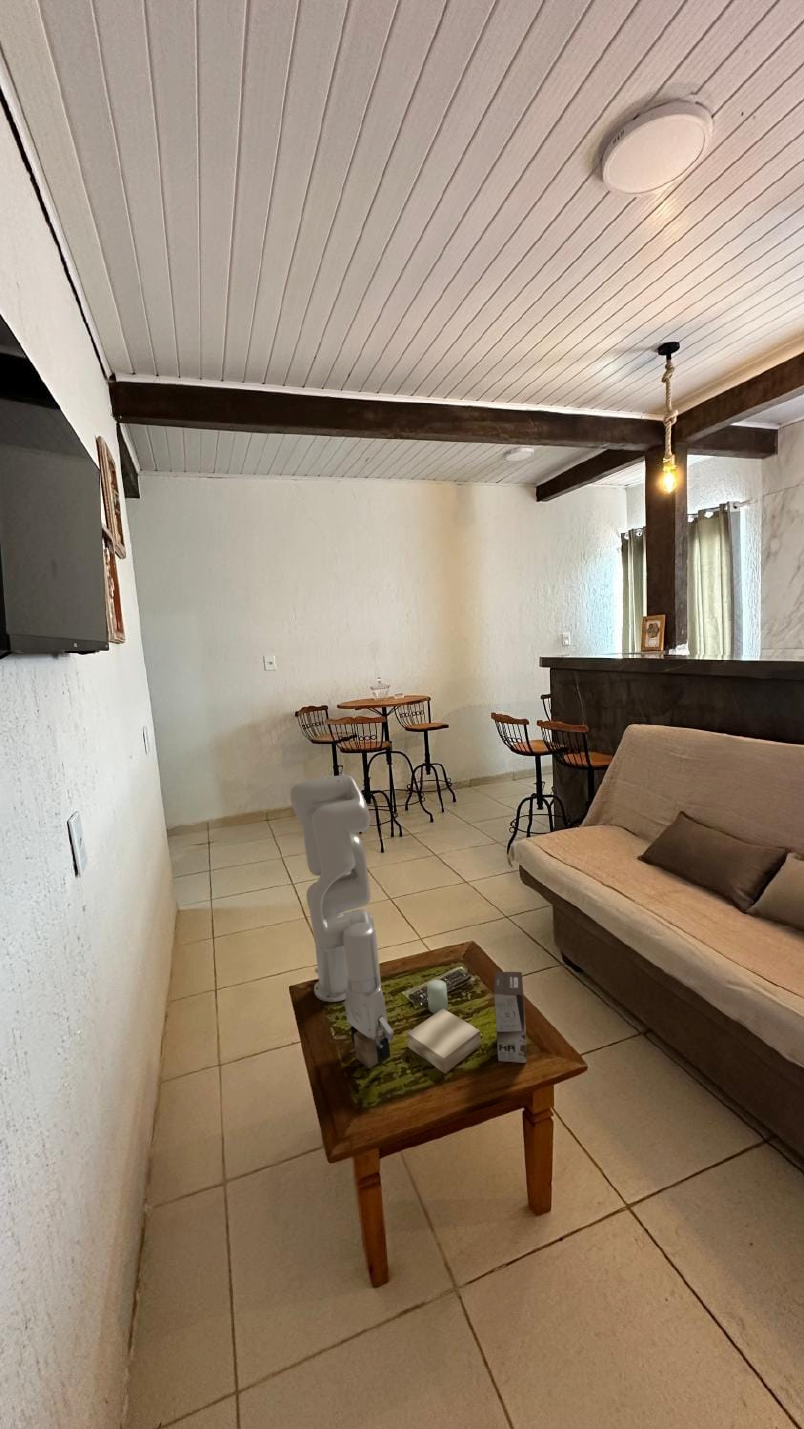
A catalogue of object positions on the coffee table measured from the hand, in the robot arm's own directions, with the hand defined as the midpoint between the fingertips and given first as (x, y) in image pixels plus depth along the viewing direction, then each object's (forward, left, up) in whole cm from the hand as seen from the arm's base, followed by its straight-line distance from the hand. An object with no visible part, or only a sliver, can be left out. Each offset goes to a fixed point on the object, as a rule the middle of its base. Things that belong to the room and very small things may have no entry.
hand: (370, 1049), depth 128 cm
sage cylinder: (-1, +23, -2) cm, 23 cm away
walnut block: (0, 0, -2) cm, 2 cm away
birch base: (+10, +14, -2) cm, 17 cm away
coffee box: (+22, +24, -2) cm, 33 cm away
